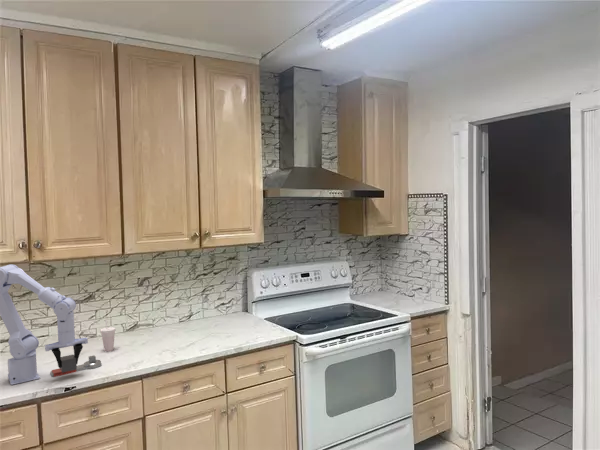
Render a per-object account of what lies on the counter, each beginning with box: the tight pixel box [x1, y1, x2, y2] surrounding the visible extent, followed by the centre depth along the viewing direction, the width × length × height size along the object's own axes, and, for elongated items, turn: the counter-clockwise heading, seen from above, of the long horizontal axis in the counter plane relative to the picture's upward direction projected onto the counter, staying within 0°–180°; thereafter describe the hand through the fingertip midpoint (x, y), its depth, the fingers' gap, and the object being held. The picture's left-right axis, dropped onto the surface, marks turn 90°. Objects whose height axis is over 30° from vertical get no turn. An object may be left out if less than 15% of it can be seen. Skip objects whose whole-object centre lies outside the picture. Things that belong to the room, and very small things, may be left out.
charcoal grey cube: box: [60, 354, 78, 373], centre depth 177 cm, size 5×5×4 cm
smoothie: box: [100, 319, 116, 353], centre depth 208 cm, size 6×6×14 cm
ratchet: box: [50, 355, 103, 378], centre depth 185 cm, size 18×6×4 cm, turn 127°
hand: (67, 365), depth 177 cm, fingers closed on charcoal grey cube, 5 cm apart
